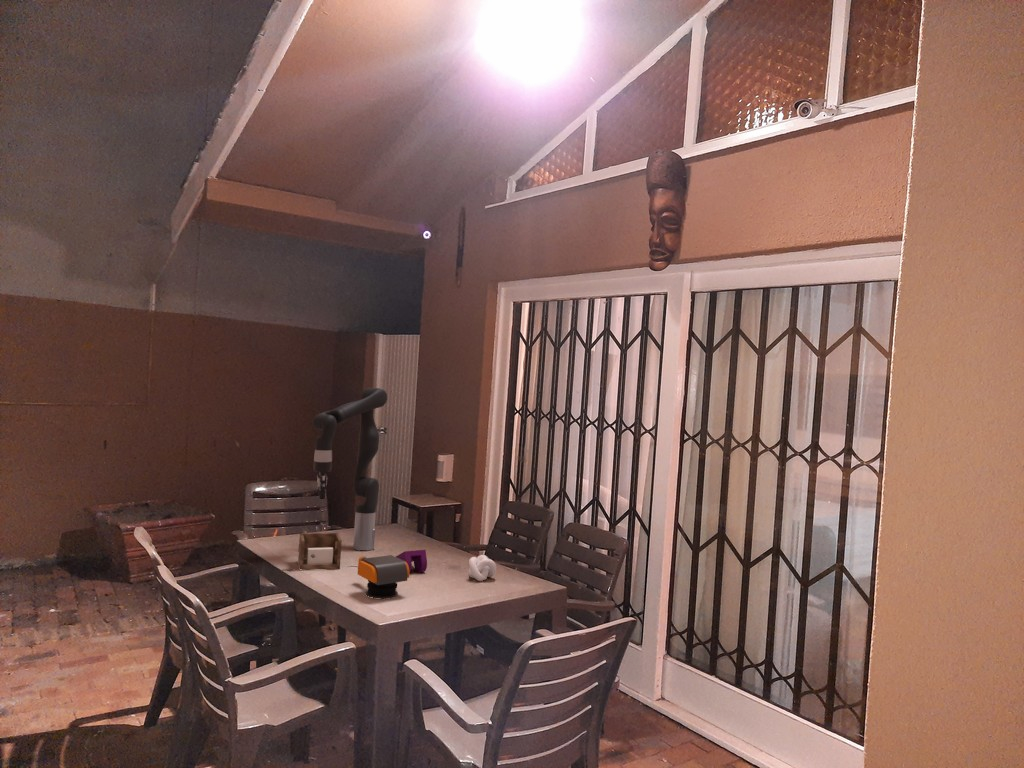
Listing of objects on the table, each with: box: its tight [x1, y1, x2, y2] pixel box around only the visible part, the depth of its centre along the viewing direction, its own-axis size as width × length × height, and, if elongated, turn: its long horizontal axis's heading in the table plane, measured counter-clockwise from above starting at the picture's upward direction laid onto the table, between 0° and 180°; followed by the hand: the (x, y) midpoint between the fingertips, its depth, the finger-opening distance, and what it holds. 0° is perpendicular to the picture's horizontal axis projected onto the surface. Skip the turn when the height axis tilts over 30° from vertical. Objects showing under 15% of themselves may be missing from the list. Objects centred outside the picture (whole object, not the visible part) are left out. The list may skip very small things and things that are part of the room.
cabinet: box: [297, 532, 343, 570], centre depth 290 cm, size 16×14×12 cm
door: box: [307, 547, 333, 564], centre depth 286 cm, size 10×4×8 cm, turn 110°
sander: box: [357, 554, 411, 600], centre depth 261 cm, size 15×25×13 cm, turn 39°
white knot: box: [468, 554, 497, 582], centre depth 285 cm, size 11×12×9 cm
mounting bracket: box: [395, 549, 428, 573], centre depth 293 cm, size 10×8×18 cm
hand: (321, 497), depth 301 cm, fingers open, 8 cm apart
